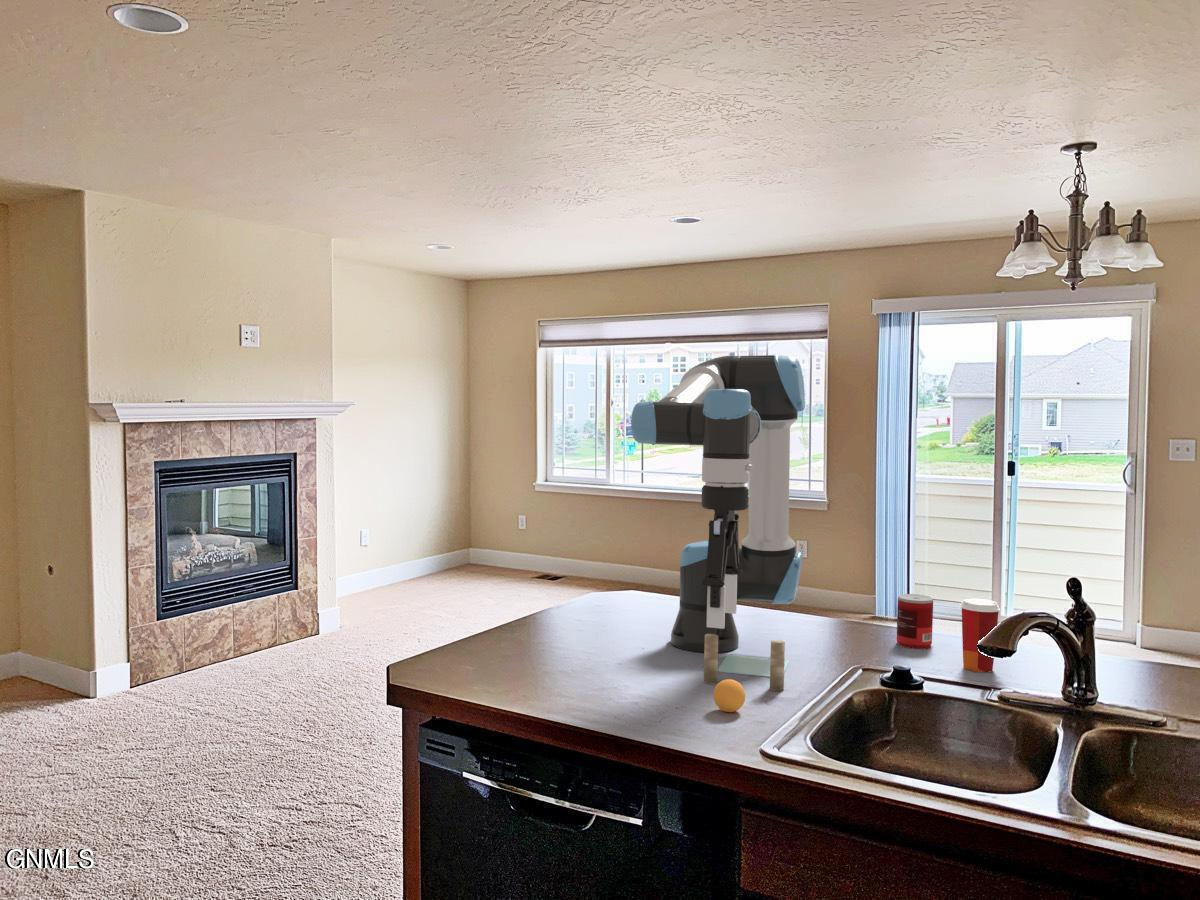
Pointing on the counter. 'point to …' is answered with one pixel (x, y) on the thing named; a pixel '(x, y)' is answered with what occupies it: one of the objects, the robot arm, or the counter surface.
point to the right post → (777, 665)
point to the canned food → (914, 621)
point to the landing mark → (747, 665)
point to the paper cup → (977, 632)
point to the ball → (729, 695)
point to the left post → (711, 658)
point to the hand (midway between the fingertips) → (721, 619)
